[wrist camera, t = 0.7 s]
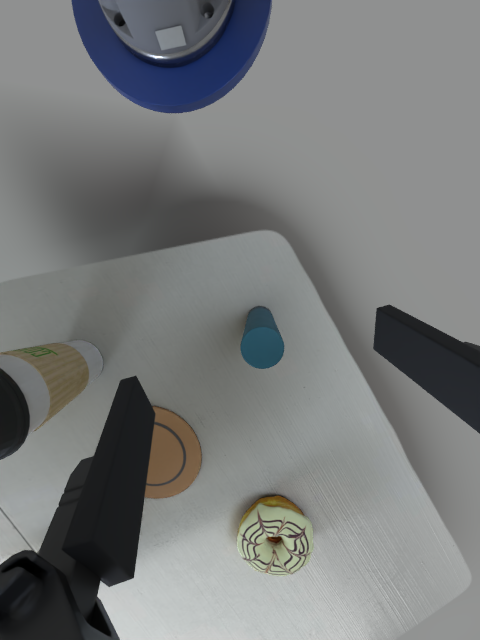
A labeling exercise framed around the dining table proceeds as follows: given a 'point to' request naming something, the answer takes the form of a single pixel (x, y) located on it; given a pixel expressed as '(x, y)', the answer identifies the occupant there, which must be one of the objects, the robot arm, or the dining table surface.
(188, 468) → the circle card
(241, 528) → the decorated donut
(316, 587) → the dining table surface
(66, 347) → the coffee cup
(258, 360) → the cylinder
